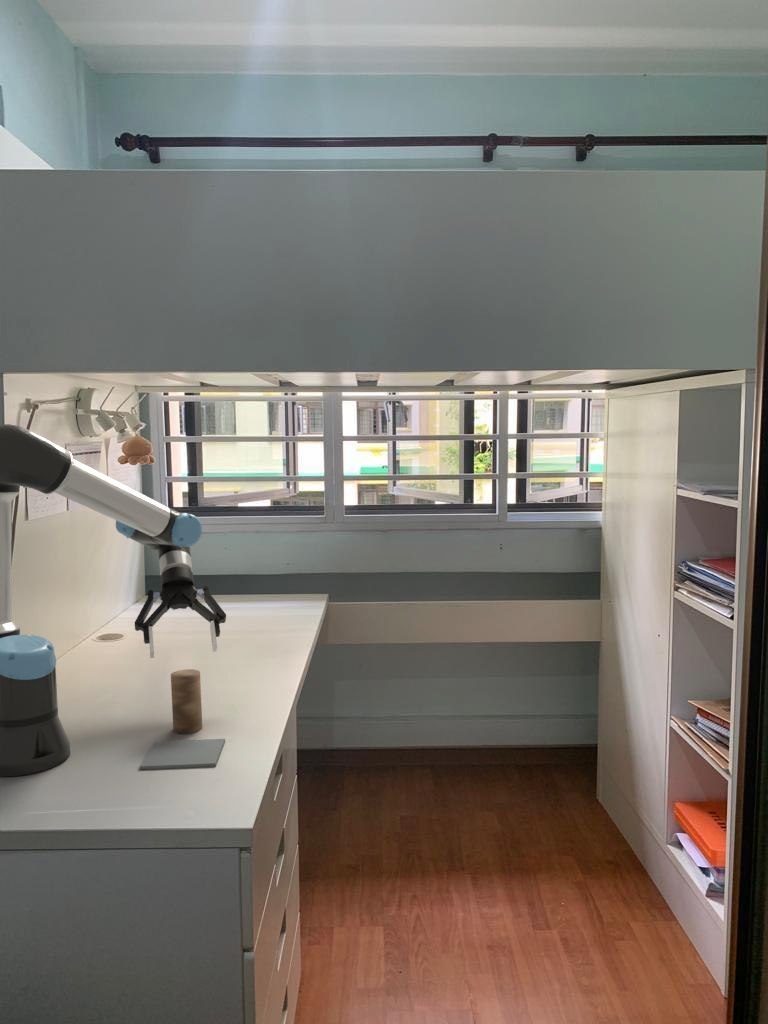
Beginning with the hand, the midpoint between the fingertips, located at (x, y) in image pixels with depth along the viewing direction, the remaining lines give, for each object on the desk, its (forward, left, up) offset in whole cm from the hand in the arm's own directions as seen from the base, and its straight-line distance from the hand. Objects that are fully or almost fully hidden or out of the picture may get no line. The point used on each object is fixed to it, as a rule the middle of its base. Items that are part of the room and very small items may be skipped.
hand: (183, 651), depth 170 cm
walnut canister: (+2, -10, -14) cm, 17 cm away
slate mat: (+4, -24, -14) cm, 28 cm away
